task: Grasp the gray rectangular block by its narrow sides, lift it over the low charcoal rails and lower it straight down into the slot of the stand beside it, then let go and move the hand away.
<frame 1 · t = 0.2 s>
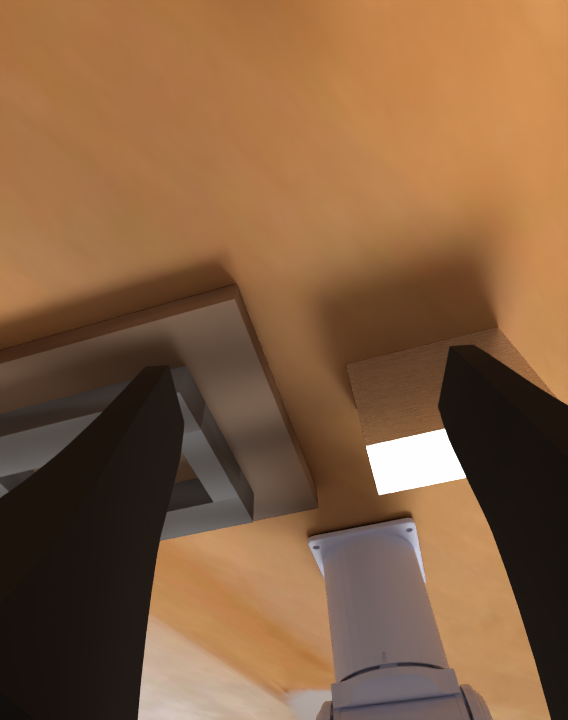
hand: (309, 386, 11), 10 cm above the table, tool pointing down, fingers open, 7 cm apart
slot stand: (125, 442, 26), on the table
gray rectangular block: (422, 370, 24), on the table
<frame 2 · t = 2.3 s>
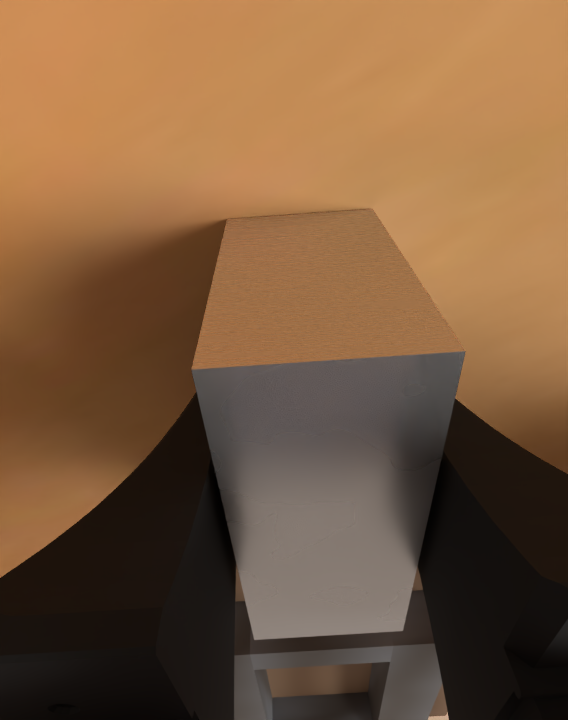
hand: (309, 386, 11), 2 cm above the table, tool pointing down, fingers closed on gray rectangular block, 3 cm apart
slot stand: (316, 627, 23), on the table
gray rectangular block: (305, 351, 13), on the table, touching gripper
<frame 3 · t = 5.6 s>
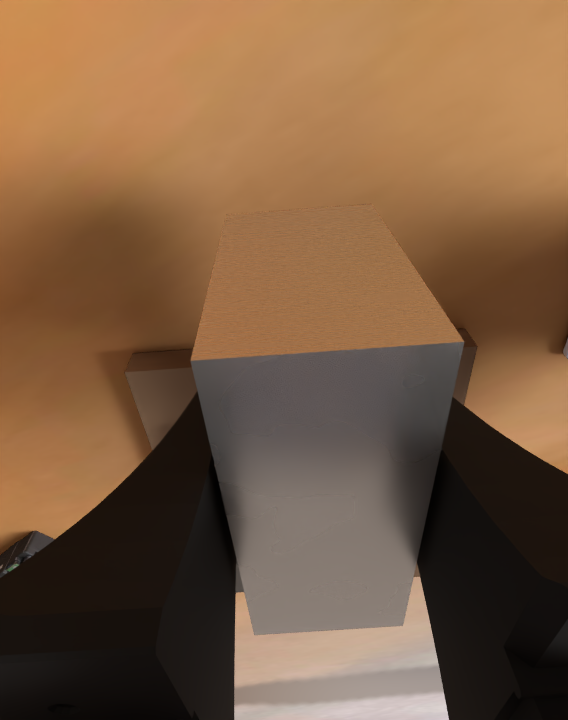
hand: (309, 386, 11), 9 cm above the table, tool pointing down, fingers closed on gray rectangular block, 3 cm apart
slot stand: (305, 476, 27), on the table
disk drive: (45, 585, 35), on the table
gray rectangular block: (304, 347, 13), point 7 cm above the table, touching gripper
when the fingers open (5 cm above the table, at t = 8.7 s): gray rectangular block drops 1 cm, resting on slot stand.
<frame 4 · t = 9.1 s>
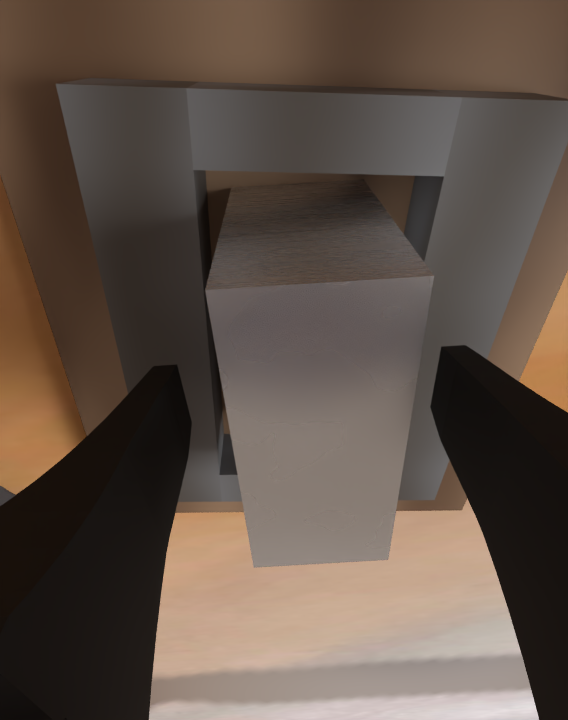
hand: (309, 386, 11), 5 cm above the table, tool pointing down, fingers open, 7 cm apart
slot stand: (299, 301, 15), on the table
gray rectangular block: (301, 314, 14), point 1 cm above the table, touching slot stand
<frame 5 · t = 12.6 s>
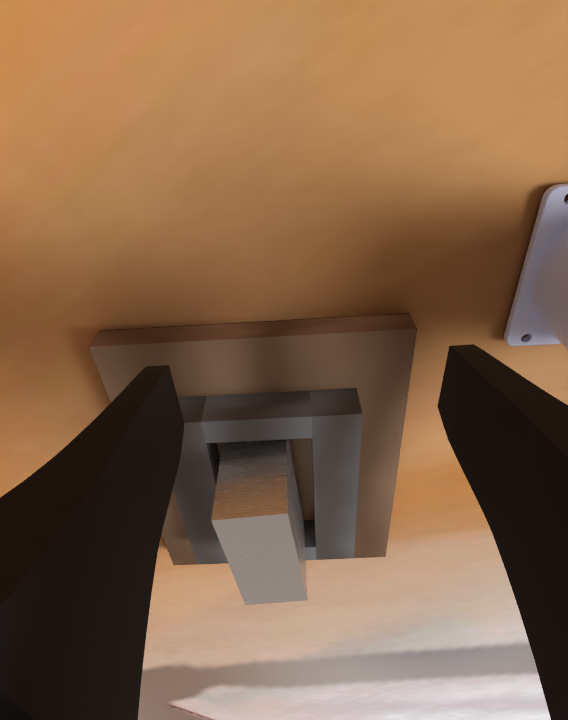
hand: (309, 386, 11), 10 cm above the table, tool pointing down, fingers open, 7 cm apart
slot stand: (268, 455, 28), on the table
gray rectangular block: (267, 470, 27), point 1 cm above the table, touching slot stand
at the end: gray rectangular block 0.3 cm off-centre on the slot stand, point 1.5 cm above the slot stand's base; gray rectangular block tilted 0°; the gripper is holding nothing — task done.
